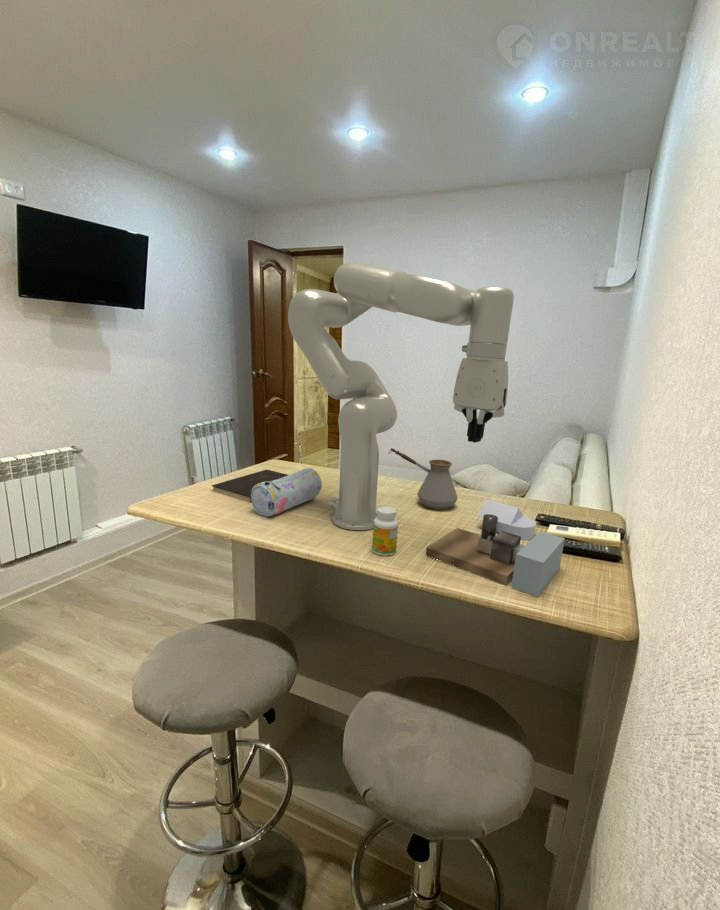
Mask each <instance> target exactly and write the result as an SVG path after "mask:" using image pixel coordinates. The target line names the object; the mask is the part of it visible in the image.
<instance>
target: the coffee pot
mask: <svg viewBox="0 0 720 910" xmlns="http://www.w3.org/2000/svg"><path fill="white" fill-rule="evenodd" d="M391 453H394V454H396V455H398V456H399V457H401V459H404V460H406V461H407V462H409V463H411V464H413V465H416V466H417V467H418V468H420V469H422V470H424V471H425V472H427V475H426V477H425V479H424V481H423V482H422V483H421V486H420V488H419V490H418V491H417V497H418V500H419V501H420V503H422V504H423V506H424V507H426V508H429V509H432V510H440V511H441V510H447V509H449V508H450V507H451V506H454V504H455V503H456V502H457V500H458V494H457V491H456V489H455V484H454V483H453V479H452V476H451V472H450V467H451V466H452V465H453V463H452V462H451V461H448V460H445V459H432V460H431V459H430V460H429V462H428V463H429V464H430V465H429V466H430V469H429V468H428V467H427V466H424V465H422V464H421V463H419V462H417V461H416V460H414V459H413V458H411V457H409V456H408V455H406V454H404V453H402V452H400V451H399V450H395V449H394V448H392V447H391V448H390V449H389V451H388V454H387V455H390V454H391Z"/></svg>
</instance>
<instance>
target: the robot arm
mask: <svg viewBox="0 0 720 910" xmlns="http://www.w3.org/2000/svg"><path fill="white" fill-rule="evenodd" d="M333 285H334V288H335V291H336V292H331V291H327V290H321V289H318V288H306V289H301V290H300V291H297V293H295V294H294V295H293V297H292V298H291V300H290V302H289V306H288V309H287V310H288V313H287V321H288V328H289V331H290V333H291V335H292V337H293V340H294V341H295V343H296V344H297V346H298V347H299V349H300V351H301V352H302V353H303V354H304V356H305V358H306V360H307V361H308V363H309V365H310V367H311V369H312V370H313V372H314V374H315V375H316V377H317V379H318V381H319V382H320V384H321V385H322V388H323V389H324V390H325V392H326V394H327V395H328V396H329V397H331V398H332V399H335V400H348V399H349V400H348V401H346V402H345V404H344V405H342V406H341V408H340V410H339V414H338V420H337V422H338V431H339V438H340V461H339V462H340V463H339V465H340V467H339V488H338V489H339V490H338V497H336V496H334V497H332V498H331V500H330V501H329V502H328V506H329V507H331V508H334V509H335V510H334V512H333V513H332V515H331V520H332V523H333V525H335V526H337V527H339V528H341V529H345V530H351V531H367V530H373V524H374V519H375V518H376V517H378V516H377V510H376V508H377V494H378V479H379V463H380V462H379V461H380V449H379V444H378V443H379V442H378V441H377V440H378V439H377V434H381V433H385V432H387V431H389V430H390V429H392V428H393V427H394V426H395V424H396V422H397V420H398V410H397V407H396V405H395V402H394V400H393V399H392V396H391V395H390V393H389V392H388V390H387V389H386V387H385V385H384V383H383V382H382V380H381V379H380V377H379V375H378V374H377V373H376V371H375V370H374V368H373V367H371V366H370V365H369V364H368V363H367V362H364V361H361V360H351V359H348V358H347V356H346V355H345V354H344V352H343V350H342V349H341V347H340V346H339V344H338V342H337V341H336V340H335V338H334V337H333V336H332V335H331V334H330V333H329V332H328V330H326V329H325V328H332V329H333V328H334V329H336V328H337V329H339V328H342V327H345V326H347V325H348V324H351V322H353V321H355V320H356V319H357V318H359V317H360V316H362V315H363V314H365V313H366V312H367V311H368V310H370V309H372V308H377V309H380V310H385V311H387V312H391V313H401V314H406V315H408V316H413V317H415V318H416V317H417V318H421V319H424V320H429V321H431V322H432V321H433V322H436V323H440V324H447V325H450V326H455V327H457V326H458V327H460V326H461V327H465V326H470V327H469V335H468V337H469V338H468V342H467V343H466V345H465V344H464V345H462V346H461V351H462V353H463V352H464V353H466V354H465V356H466V357H462V358H461V361H460V364H459V368H458V370H457V374H456V375H457V376H456V379H455V383H454V388H453V395H452V402H453V404H454V406H453V409H454V410H455V411H457V412H459V413H461V414H463V416H464V417H465V420H466V422H467V423H468V424H467V431H466V432H467V433H466V436H467V442H471V443H473V444H474V443H479V442H481V441H482V439H483V437H484V433H485V425H486V424H487V423H488V421H490V420H492V419H494V418H501V417H505V407H506V404H507V399H508V391H509V390H508V389H509V363H508V361H506V355H507V347H508V341H509V335H510V328H511V322H512V321H511V319H512V315H513V314H512V312H513V306H514V299H515V294H514V291H513V290H511V288H508V287H503V286H483V287H479V288H478V289H476V290H474V289H469V288H465V287H463V286H460V285H458V284H456V283H453V282H449V281H444V280H439V279H436V278H431V277H427V276H426V277H425V276H421V275H417V274H410V273H406V272H405V271H401V270H396V269H391V268H386V267H381V266H377V265H371V264H367V263H362V262H358V261H347V262H346V263H343V264H341V265H339V267H338V268H337V269H336V271H335V272H334V276H333ZM478 410H479V413H478Z"/></svg>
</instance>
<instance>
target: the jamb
mask: <svg viewBox="0 0 720 910" xmlns="http://www.w3.org/2000/svg"><path fill="white" fill-rule="evenodd" d="M565 539H566V538H565V537H562V536H559V535H555V534H551V533H547V532H544V531H539V532H538V533H537V534H536V535H534V538H532V539H530V540H529V541H528V543H526V544H524V547H523V548H522V549H521V550H520V551H519V552H518V553H517V554H516V558H515V565H514V572H513V579H512V580H511V585H510V586H511V588H512V589H515V590H517V591H520V592H523V593H525V594H528V595H531V596H533V597H537V598H538V597H540V595H541V593H542V592H543V591H544V589H546V588H547V586H548V584H549V583H550V582H551V580H552V579H553V578H554V576H556V573H558V571H559V570H560V569H561V568H560V567H561V562H562V557H563V550H564V545H565Z"/></svg>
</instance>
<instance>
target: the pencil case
mask: <svg viewBox="0 0 720 910" xmlns="http://www.w3.org/2000/svg"><path fill="white" fill-rule="evenodd" d="M287 475H288V476H285V477H282V478H280V479H276V480H273V481H269V482H267V481H266V482H262V483H259V484H257V485H255V486H254V487H253V488H252V491H251V500H252V503H251V505H252V508H253V509H254V511H255V512H256V514H258V515H260V516H262V517H271V516H276V515H279V514H281V513H283V512H285V511H287V510H290V509H292V508H294V507H297V506H299V505H301V504H303V503H307V502H308V501H311V500H312V499H314V498H316V497H317V496H319V494H320V493H321V491H322V486H323V484H322V483H323V482H322V478H321V475H320V474H319V473H318V471H317V470H315V469H314V468H312V467H305V468H303V469H302V470H299V471H295V472H293V473H291V474H287Z"/></svg>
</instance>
